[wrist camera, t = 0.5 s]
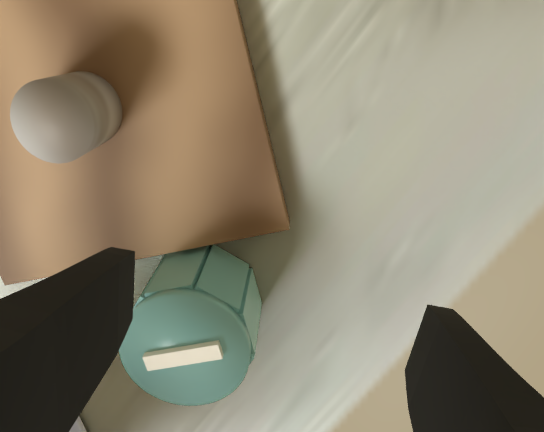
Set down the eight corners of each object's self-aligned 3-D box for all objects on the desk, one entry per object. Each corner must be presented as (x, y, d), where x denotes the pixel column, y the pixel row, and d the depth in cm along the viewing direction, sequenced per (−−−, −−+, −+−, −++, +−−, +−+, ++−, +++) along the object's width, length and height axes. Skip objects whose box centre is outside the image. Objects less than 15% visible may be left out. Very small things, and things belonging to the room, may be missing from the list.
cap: (169, 348, 25) (141, 418, 21) (135, 257, 24) (96, 313, 19) (270, 331, 25) (263, 400, 20) (243, 236, 23) (228, 288, 18)
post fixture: (16, 275, 24) (-35, 320, 21) (-127, -28, 20) (-228, -41, 16) (289, 221, 22) (287, 259, 19) (205, -129, 18) (180, -171, 14)
